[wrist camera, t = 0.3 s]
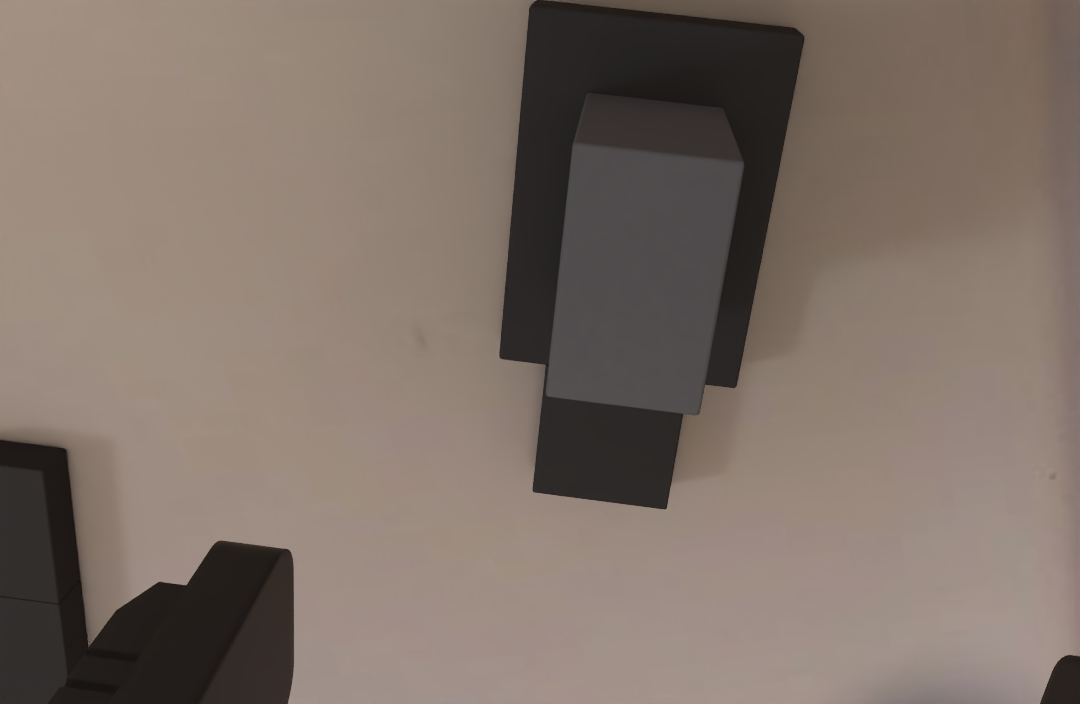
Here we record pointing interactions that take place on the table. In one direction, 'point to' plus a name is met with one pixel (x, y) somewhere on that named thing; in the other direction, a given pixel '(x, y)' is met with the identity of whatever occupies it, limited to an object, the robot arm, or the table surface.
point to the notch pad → (37, 575)
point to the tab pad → (541, 207)
